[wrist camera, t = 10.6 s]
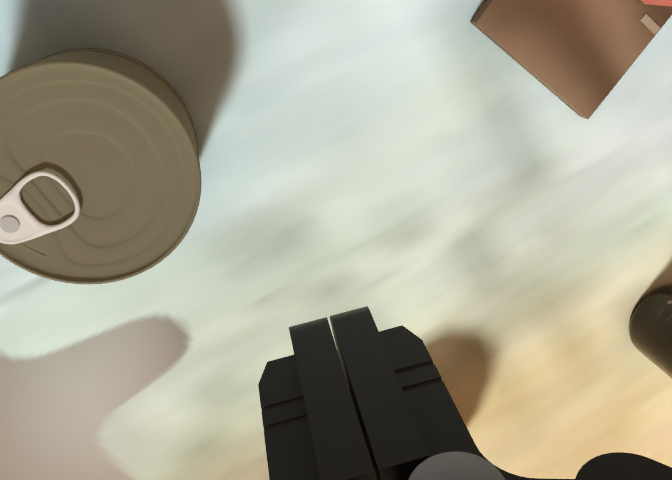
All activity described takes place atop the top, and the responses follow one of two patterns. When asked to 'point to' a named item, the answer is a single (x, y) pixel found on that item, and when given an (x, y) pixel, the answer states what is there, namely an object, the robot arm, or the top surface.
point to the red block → (658, 2)
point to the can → (94, 167)
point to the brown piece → (573, 42)
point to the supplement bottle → (654, 328)
